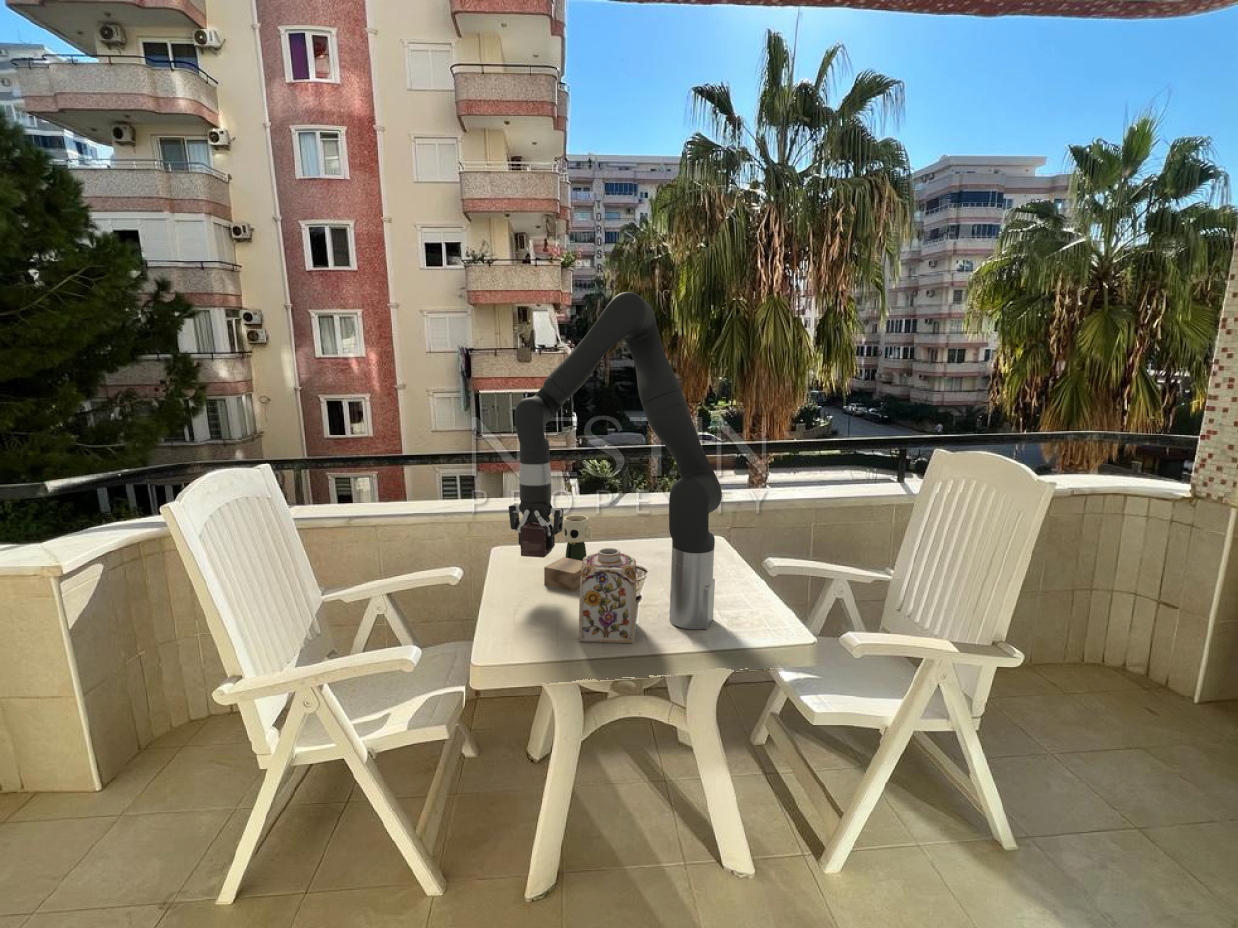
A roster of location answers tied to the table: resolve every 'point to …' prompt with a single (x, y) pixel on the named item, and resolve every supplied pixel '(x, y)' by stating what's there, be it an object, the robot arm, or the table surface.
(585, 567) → the decorative jar
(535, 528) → the box
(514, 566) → the table surface
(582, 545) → the character mug
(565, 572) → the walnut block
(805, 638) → the table surface
